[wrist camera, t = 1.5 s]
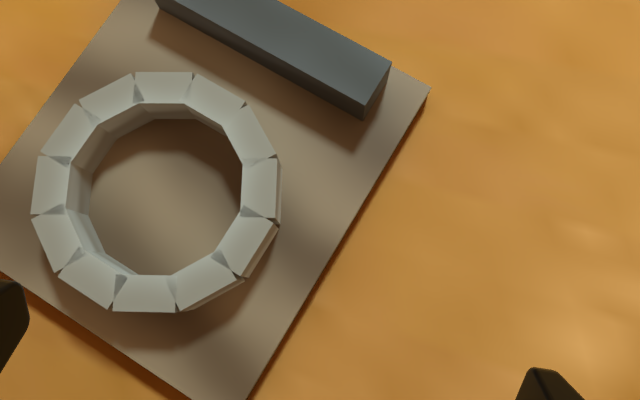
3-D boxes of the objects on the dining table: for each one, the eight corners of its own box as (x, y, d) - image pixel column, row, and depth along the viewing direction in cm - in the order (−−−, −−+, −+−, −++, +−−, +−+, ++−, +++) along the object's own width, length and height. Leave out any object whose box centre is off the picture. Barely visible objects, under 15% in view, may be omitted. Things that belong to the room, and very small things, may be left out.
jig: (234, 419, 22) (219, 438, 19) (-37, 237, 24) (-89, 230, 21) (427, 95, 25) (440, 68, 22) (169, -44, 27) (148, -86, 24)
